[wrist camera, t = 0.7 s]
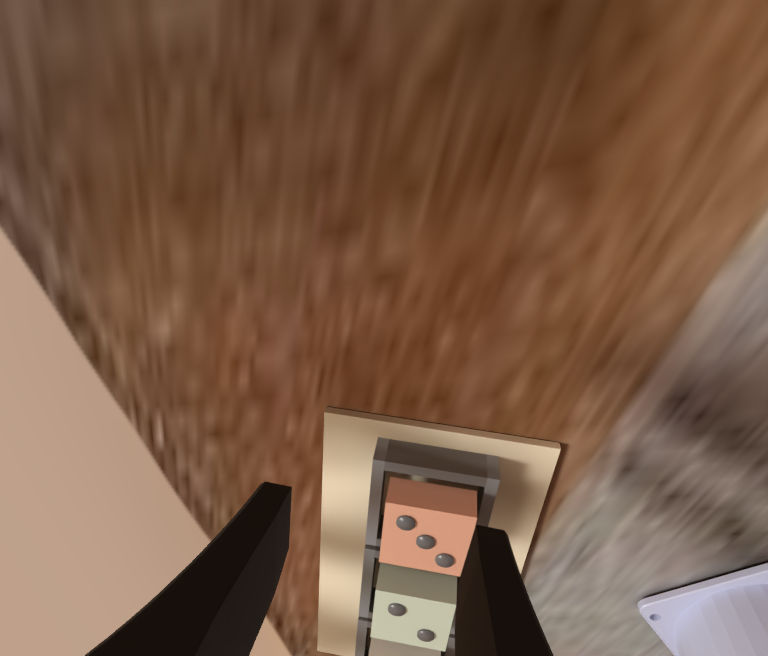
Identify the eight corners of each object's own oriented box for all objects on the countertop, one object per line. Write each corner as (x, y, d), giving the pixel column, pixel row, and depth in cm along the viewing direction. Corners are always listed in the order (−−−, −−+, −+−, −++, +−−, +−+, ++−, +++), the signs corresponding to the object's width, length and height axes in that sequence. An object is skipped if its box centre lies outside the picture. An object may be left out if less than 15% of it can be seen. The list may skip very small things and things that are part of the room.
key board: (485, 676, 31) (485, 710, 29) (319, 644, 31) (311, 675, 30) (559, 442, 22) (566, 473, 20) (326, 406, 23) (316, 433, 21)
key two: (446, 623, 26) (445, 653, 24) (375, 609, 26) (369, 639, 25) (457, 576, 24) (456, 607, 23) (380, 562, 24) (375, 592, 23)
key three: (463, 549, 23) (463, 579, 22) (383, 535, 23) (378, 564, 22) (476, 491, 21) (477, 520, 20) (390, 476, 22) (385, 504, 20)
